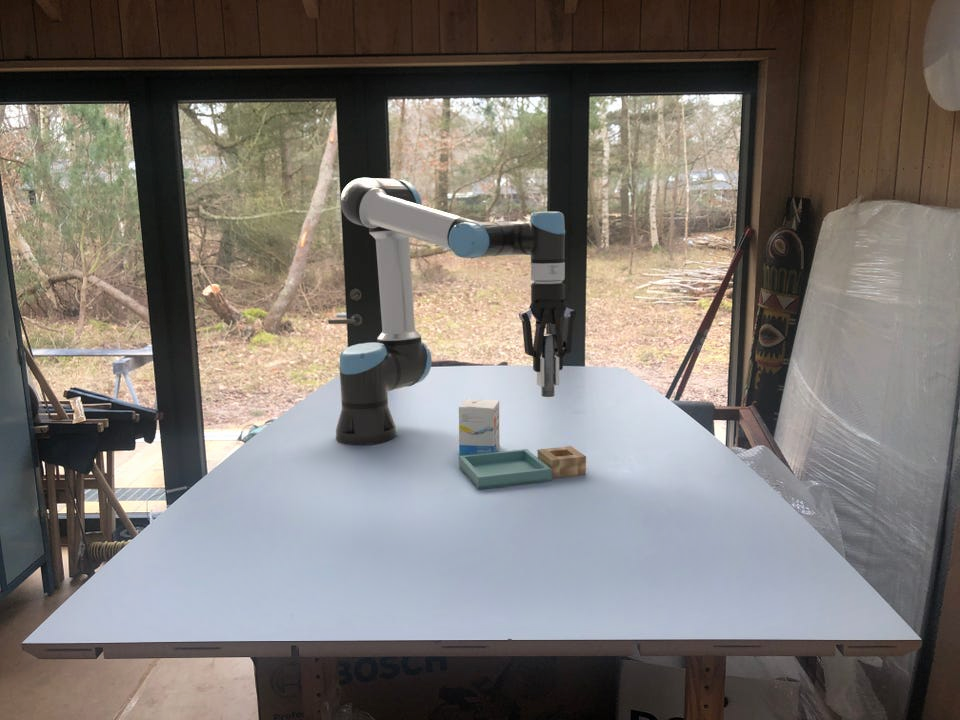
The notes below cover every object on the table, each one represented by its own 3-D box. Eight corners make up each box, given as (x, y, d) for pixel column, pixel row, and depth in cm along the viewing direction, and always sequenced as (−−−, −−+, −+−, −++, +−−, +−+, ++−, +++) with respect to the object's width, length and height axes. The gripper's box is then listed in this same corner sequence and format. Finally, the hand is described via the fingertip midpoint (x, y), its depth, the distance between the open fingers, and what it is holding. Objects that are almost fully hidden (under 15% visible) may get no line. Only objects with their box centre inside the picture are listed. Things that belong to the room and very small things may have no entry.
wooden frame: (551, 478, 160) (551, 460, 160) (537, 466, 168) (537, 449, 167) (585, 474, 163) (586, 456, 162) (570, 463, 170) (571, 446, 170)
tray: (478, 489, 154) (478, 477, 154) (459, 467, 169) (458, 456, 168) (551, 480, 159) (551, 469, 158) (526, 459, 173) (526, 448, 173)
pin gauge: (544, 397, 172) (544, 336, 170) (539, 394, 175) (539, 334, 172) (556, 396, 173) (556, 335, 171) (551, 393, 176) (551, 333, 173)
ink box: (494, 457, 176) (493, 407, 174) (458, 455, 177) (457, 406, 175) (500, 446, 184) (500, 399, 182) (466, 444, 186) (465, 398, 184)
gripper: (519, 284, 164) (520, 391, 168) (587, 281, 168) (587, 385, 172) (508, 282, 171) (509, 384, 175) (573, 279, 175) (573, 379, 179)
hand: (547, 384), depth 174 cm, fingers closed on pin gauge, 3 cm apart
